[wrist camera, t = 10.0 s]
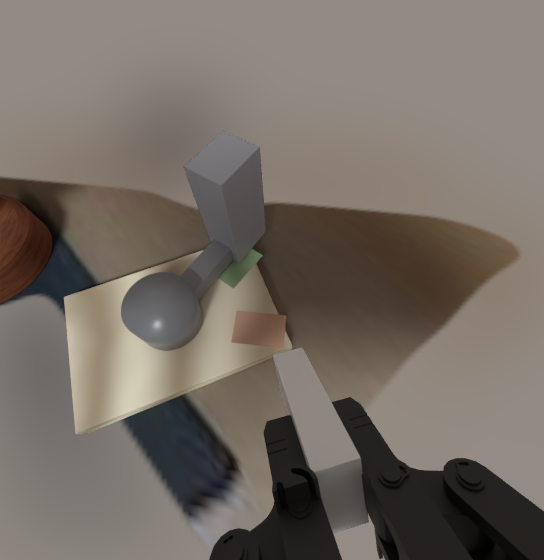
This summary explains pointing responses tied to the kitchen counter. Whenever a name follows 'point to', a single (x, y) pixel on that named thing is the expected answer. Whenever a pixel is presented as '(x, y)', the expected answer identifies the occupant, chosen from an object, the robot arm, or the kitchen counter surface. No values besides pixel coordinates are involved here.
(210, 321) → the board
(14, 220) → the music box
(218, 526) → the kitchen counter surface
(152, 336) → the grey block with ball
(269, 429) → the robot arm
